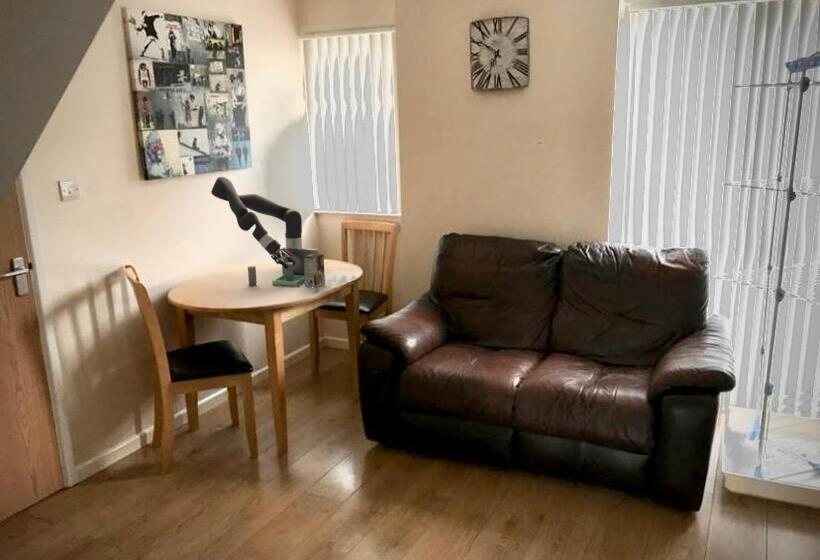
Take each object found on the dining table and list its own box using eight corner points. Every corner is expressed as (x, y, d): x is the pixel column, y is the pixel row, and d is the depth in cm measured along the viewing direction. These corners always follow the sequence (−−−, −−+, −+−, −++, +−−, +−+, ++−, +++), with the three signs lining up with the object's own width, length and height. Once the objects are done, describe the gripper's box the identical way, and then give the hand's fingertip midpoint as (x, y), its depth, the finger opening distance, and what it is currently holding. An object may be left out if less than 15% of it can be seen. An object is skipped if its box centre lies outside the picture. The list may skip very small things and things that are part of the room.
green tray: (283, 278, 362) (283, 274, 362) (307, 280, 359) (306, 275, 359) (272, 285, 350) (272, 280, 349) (296, 286, 346) (296, 282, 346)
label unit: (286, 274, 372) (285, 246, 368) (320, 276, 367) (319, 247, 363) (280, 278, 364) (279, 249, 360) (315, 280, 359) (313, 250, 355)
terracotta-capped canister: (251, 284, 352) (249, 265, 350) (258, 284, 351) (256, 265, 349) (247, 285, 349) (246, 267, 346) (254, 286, 348) (253, 267, 345)
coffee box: (315, 282, 354) (314, 252, 350) (325, 284, 351) (324, 254, 347) (304, 286, 347) (303, 256, 343) (314, 288, 344) (313, 257, 340)
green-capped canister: (287, 280, 357) (286, 262, 354) (294, 280, 356) (294, 262, 353) (284, 282, 353) (283, 263, 350) (291, 282, 352) (290, 264, 350)
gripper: (271, 246, 360) (292, 267, 360) (259, 251, 346) (280, 274, 347) (279, 236, 357) (300, 258, 357) (268, 241, 344) (289, 264, 344)
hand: (290, 266), depth 352 cm, fingers open, 8 cm apart
